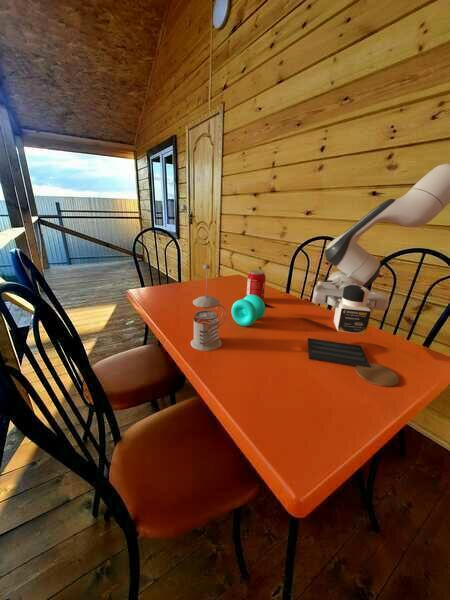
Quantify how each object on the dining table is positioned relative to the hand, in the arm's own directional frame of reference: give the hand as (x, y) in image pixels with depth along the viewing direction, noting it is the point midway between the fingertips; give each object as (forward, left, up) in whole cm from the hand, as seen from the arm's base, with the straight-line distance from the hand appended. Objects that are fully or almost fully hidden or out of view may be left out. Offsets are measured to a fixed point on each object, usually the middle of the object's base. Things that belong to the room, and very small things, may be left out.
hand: (353, 306), depth 69 cm
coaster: (-10, +1, -16) cm, 19 cm away
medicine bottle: (0, 0, -7) cm, 7 cm away
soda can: (+46, -13, -16) cm, 51 cm away
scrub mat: (+2, -1, -16) cm, 16 cm away
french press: (+31, +25, -16) cm, 43 cm away
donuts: (+34, +4, -16) cm, 38 cm away
